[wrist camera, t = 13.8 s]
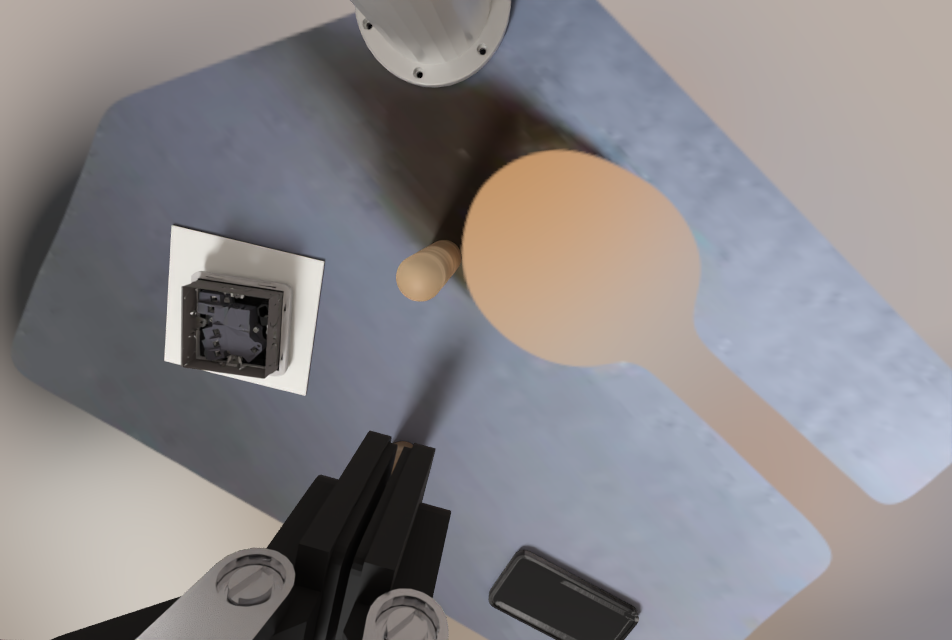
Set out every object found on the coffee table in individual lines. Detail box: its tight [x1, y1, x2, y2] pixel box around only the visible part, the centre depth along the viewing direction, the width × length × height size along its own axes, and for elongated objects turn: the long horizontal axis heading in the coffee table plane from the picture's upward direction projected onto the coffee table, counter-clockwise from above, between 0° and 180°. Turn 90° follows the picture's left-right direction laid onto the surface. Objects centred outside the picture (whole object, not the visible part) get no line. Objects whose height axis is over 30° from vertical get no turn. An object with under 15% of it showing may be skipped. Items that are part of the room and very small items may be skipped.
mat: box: [165, 225, 325, 395], centre depth 48 cm, size 14×15×1 cm
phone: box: [489, 550, 639, 640], centre depth 53 cm, size 8×1×15 cm
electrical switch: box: [181, 271, 293, 379], centre depth 46 cm, size 9×5×9 cm
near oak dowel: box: [396, 240, 462, 301], centre depth 39 cm, size 3×3×12 cm
